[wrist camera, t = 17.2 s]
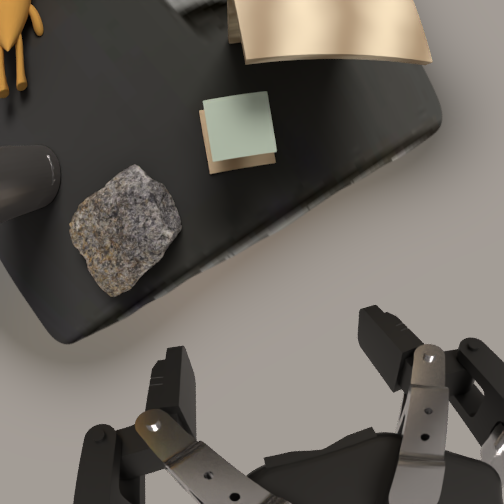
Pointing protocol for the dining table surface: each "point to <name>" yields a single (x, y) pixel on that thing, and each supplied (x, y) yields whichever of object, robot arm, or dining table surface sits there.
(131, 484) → the robot arm
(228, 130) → the tin
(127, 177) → the rock
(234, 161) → the mat
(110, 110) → the dining table surface
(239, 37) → the shelf
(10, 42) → the toy
